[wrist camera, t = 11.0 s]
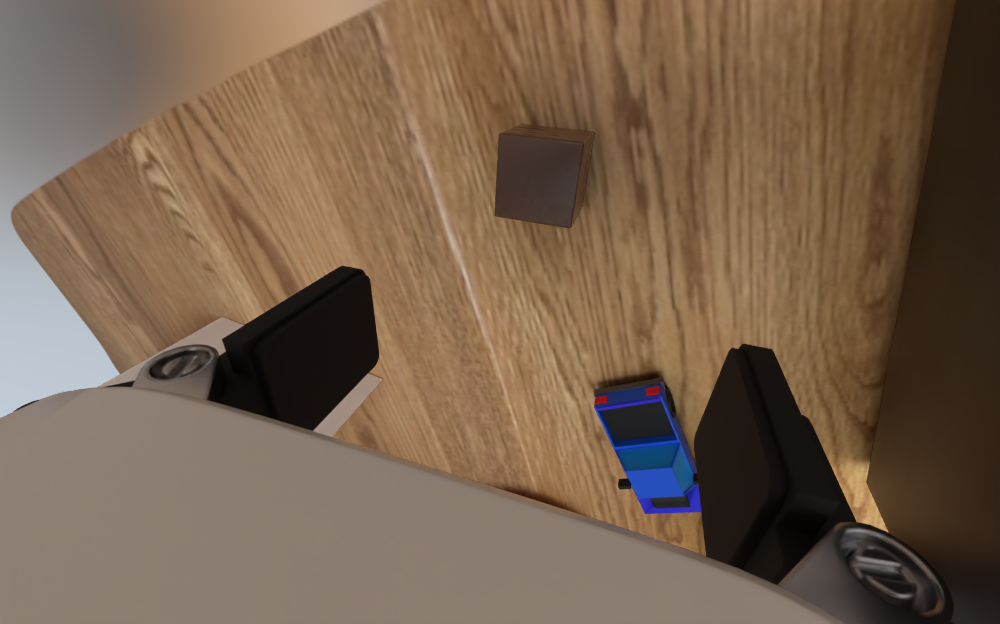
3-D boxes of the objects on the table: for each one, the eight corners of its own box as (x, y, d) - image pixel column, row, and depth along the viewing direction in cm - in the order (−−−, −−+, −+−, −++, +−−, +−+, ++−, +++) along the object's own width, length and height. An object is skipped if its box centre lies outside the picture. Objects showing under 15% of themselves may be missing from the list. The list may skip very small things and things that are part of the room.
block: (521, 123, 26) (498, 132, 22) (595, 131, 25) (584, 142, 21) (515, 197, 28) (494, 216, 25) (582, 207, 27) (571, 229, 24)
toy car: (636, 487, 38) (634, 537, 34) (587, 383, 34) (578, 426, 30) (716, 481, 35) (724, 536, 31) (672, 367, 31) (674, 412, 27)
